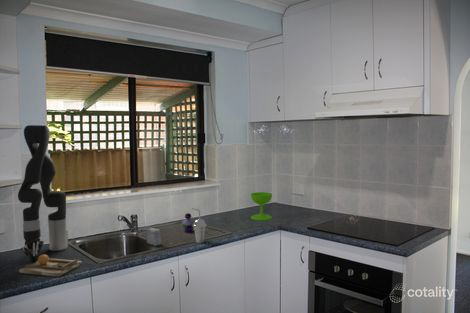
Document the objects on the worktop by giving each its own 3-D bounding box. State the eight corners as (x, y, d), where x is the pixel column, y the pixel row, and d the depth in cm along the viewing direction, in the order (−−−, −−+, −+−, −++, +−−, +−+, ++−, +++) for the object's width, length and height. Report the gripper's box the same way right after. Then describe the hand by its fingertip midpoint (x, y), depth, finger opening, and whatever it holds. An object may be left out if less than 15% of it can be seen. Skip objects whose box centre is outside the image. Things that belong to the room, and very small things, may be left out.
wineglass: (261, 214, 304) (261, 191, 303) (276, 217, 292) (276, 194, 291) (246, 217, 294) (246, 194, 293) (261, 221, 282) (260, 196, 281)
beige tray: (45, 260, 203) (44, 254, 203) (81, 264, 197) (81, 257, 197) (19, 272, 186) (19, 265, 186) (58, 276, 181) (58, 269, 181)
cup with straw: (197, 244, 228) (196, 210, 226) (189, 241, 235) (189, 208, 233) (209, 242, 233) (209, 208, 231) (201, 238, 240) (201, 206, 238)
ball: (43, 262, 196) (42, 252, 196) (51, 263, 195) (51, 253, 194) (35, 265, 191) (35, 255, 191) (44, 266, 190) (43, 256, 190)
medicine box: (161, 244, 229) (160, 229, 229) (154, 246, 226) (154, 231, 226) (153, 241, 235) (152, 227, 234) (146, 243, 231) (146, 229, 231)
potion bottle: (180, 233, 253) (179, 214, 252) (183, 229, 262) (183, 211, 261) (193, 233, 252) (192, 215, 251) (196, 229, 261) (196, 212, 260)
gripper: (35, 224, 200) (37, 257, 202) (14, 231, 188) (16, 266, 189) (47, 225, 198) (49, 259, 200) (27, 232, 186) (29, 268, 187)
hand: (33, 262), depth 194 cm, fingers closed
